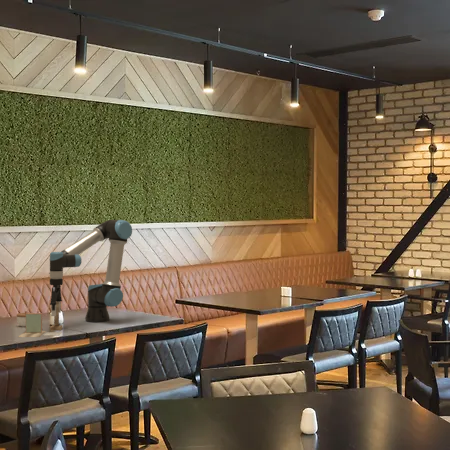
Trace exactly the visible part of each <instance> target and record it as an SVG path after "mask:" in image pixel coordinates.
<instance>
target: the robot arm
mask: <svg viewBox="0 0 450 450" xmlns="http://www.w3.org/2000/svg"><path fill="white" fill-rule="evenodd" d="M132 234H133V228H132V224H130V222H129V221H127V220H124V219H108V220H105V221H104V222H102V223H100V224H98V225H97V226H95V227H94V228H93V230H92V231H91V232H89V233H88V234H86V235H85V236H83V237H81V238H79V240H77V241H75V242H73V243H72V244H70V245H69V246H68V247H66V248H64V249H63V250H61V251H51V252H50V253H49V272H48V274H49V278H50V279H49V286H53V287H51V294H50V303H49V305H50V310H51V311H50V316H51V317H54V316H56V302H59V314H61V313H62V310H61V309H62V308H61V307H62V302H63V299H62V291H61V287H62V286H63V285H64V280H63V279H64V278H63V277H64V268H65V269H67V268H78V267H80V266H81V265H82V256H81V254H82V253H83V252H85V251H86V250H88V249H90V248H91V247H93V246H94V245H96V244H97V243H99V242H103V241H104V240H106V239H108V242H109V243H110V244H109V245H110V246H109V252H108V258H107V259H108V260H107V267H106V273H105V278H104V280H105V281H104V282H102V283H99V284H97V283H96V284H89V285H88V287H87V311H86V314H85V319H84V320H85V321H86V322H89V323H103V322H104V323H105V322H108V321H110V314H109V311H108V307H109V308H111V307H112V308H113V307H114V308H115V307H118V306H119V305H120V304H121V303H122V301H123V298H124V293H123V291H122V290H121V288H122V285H121V284H120V278H121V271H122V264H123V257H124V248H125V245H126V244H127V243H128V239H130V237H132Z"/></svg>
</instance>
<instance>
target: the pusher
mask: <svg viewBox="0 0 450 450" xmlns="http://www.w3.org/2000/svg"><path fill="white" fill-rule="evenodd" d="M63 326H64V325H63V324H62V325H61V324H60V313H59V302H57V301H56V316H53V324H52V325H51V326H50V332H51V331H54V332H55V331H56V332H60V331H61V332H62V331H63V328H64V327H63Z"/></svg>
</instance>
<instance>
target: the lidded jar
mask: <svg viewBox="0 0 450 450" xmlns="http://www.w3.org/2000/svg"><path fill="white" fill-rule="evenodd" d="M26 313H28V312H27V311H24V312H20V313H16V322H17V324H18V326H20V327H22V328H26Z"/></svg>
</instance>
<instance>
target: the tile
mask: <svg viewBox="0 0 450 450" xmlns="http://www.w3.org/2000/svg"><path fill="white" fill-rule="evenodd" d="M25 331H26V333H42V331H43V312H41V313H39V312H37V313H36V312H27V313H26V327H25Z"/></svg>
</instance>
